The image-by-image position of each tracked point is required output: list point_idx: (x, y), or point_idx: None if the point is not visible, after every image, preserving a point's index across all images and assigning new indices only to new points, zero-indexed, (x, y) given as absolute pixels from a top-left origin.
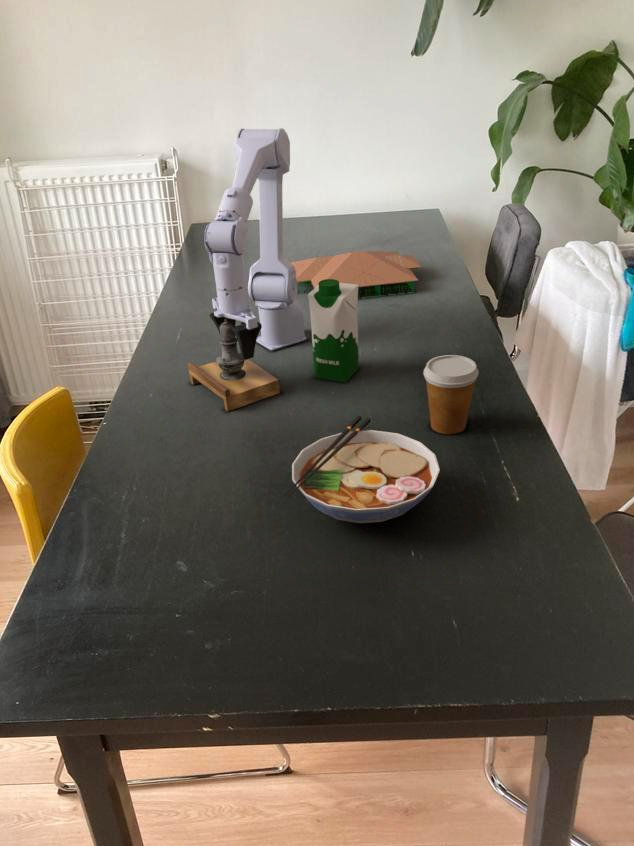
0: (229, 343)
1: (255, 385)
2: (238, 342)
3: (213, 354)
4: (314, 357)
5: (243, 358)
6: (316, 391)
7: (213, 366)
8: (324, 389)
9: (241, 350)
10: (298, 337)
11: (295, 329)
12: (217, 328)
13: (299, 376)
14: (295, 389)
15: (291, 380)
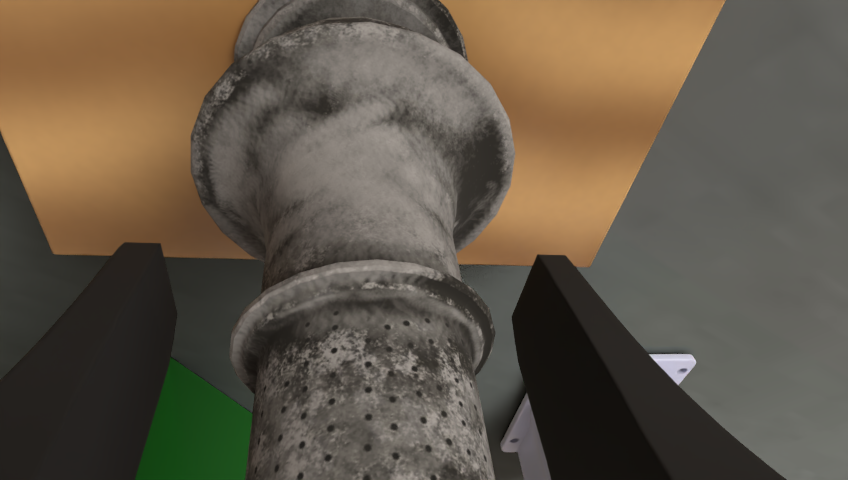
0: (248, 330)
1: (24, 102)
2: (63, 419)
3: (816, 185)
4: (148, 458)
5: (135, 249)
6: (11, 307)
7: (619, 56)
8: (17, 334)
9: (80, 324)
10: (524, 442)
11: (536, 474)
12: (704, 414)
13: (232, 325)
14: (92, 258)
15: (214, 288)
